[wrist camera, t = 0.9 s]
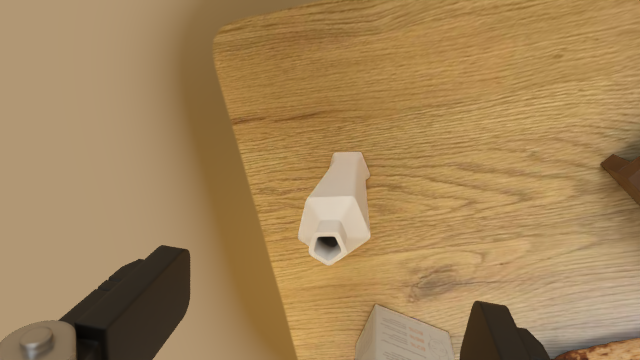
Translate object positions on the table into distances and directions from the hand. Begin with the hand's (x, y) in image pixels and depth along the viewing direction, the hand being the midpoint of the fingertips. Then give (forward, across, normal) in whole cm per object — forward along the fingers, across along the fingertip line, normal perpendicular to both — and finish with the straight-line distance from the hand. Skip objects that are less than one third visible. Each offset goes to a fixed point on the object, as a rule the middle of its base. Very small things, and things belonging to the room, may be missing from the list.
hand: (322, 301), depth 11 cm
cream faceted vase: (+26, +1, +4) cm, 26 cm away
